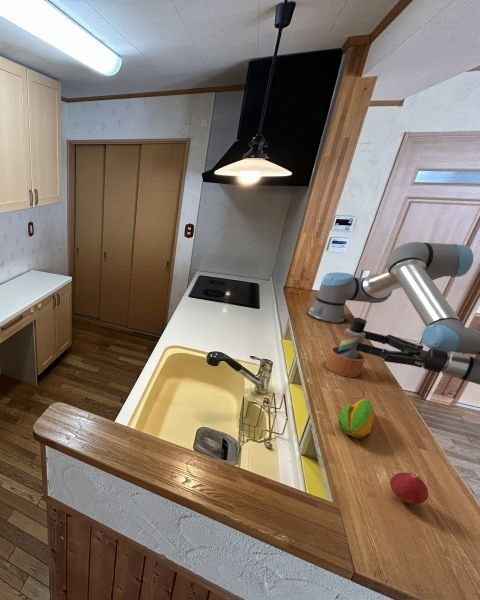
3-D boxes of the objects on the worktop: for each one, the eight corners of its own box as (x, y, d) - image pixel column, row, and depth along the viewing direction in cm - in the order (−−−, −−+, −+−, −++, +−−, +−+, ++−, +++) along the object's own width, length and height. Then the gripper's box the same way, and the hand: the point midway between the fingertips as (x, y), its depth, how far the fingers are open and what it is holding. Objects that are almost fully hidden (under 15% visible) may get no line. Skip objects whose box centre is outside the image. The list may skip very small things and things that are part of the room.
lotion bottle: (345, 363, 124) (363, 316, 116) (355, 372, 118) (374, 323, 111) (329, 362, 124) (346, 315, 117) (339, 371, 119) (357, 322, 112)
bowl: (350, 364, 125) (356, 348, 122) (364, 379, 116) (371, 362, 113) (320, 360, 127) (325, 344, 125) (332, 374, 118) (338, 358, 115)
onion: (378, 489, 74) (390, 463, 71) (400, 487, 75) (414, 461, 72) (403, 513, 69) (418, 486, 66) (428, 511, 69) (443, 485, 66)
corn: (339, 411, 87) (356, 383, 100) (329, 432, 90) (346, 402, 103) (374, 428, 82) (387, 396, 95) (361, 450, 85) (375, 416, 98)
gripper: (442, 389, 95) (351, 361, 109) (436, 358, 112) (358, 337, 126) (453, 367, 92) (358, 342, 106) (445, 338, 109) (365, 320, 123)
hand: (358, 339), depth 116 cm, fingers open, 13 cm apart
